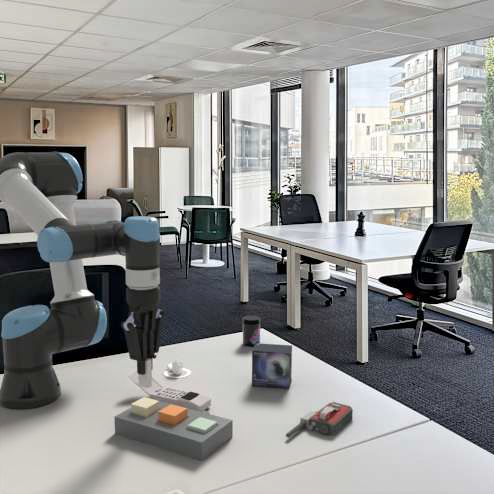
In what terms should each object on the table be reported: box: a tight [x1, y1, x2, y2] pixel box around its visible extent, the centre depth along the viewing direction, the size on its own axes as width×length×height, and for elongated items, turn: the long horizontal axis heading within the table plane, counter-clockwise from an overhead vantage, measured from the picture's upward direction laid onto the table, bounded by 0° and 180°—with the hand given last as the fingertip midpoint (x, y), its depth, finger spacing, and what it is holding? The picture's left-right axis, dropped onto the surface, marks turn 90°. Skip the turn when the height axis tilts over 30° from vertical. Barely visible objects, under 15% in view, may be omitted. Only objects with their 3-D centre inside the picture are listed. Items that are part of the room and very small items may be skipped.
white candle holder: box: [162, 358, 192, 379], centre depth 172 cm, size 9×8×4 cm
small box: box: [251, 342, 293, 390], centre depth 163 cm, size 11×6×10 cm, turn 80°
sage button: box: [188, 417, 217, 434], centre depth 129 cm, size 5×5×4 cm
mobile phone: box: [128, 371, 212, 414], centre depth 151 cm, size 6×6×25 cm
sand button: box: [130, 396, 160, 417], centre depth 137 cm, size 5×5×4 cm
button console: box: [114, 397, 234, 461], centre depth 133 cm, size 24×12×4 cm, turn 60°
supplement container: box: [242, 315, 261, 347], centre depth 197 cm, size 6×6×9 cm
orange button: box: [158, 404, 187, 425], centre depth 133 cm, size 5×5×4 cm
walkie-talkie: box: [285, 401, 354, 439], centre depth 137 cm, size 9×4×20 cm
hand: (145, 385), depth 136 cm, fingers closed
